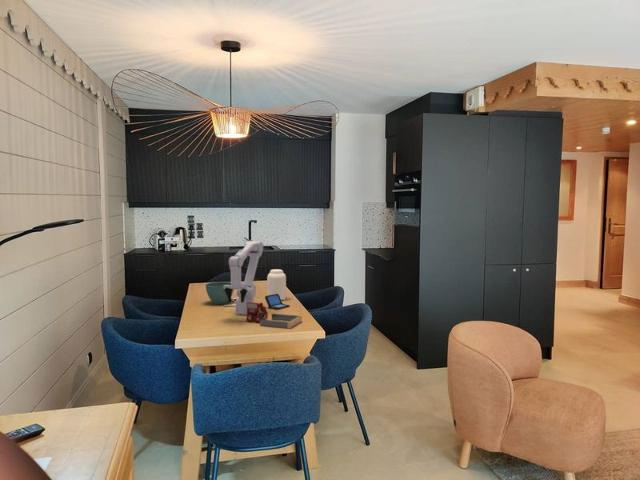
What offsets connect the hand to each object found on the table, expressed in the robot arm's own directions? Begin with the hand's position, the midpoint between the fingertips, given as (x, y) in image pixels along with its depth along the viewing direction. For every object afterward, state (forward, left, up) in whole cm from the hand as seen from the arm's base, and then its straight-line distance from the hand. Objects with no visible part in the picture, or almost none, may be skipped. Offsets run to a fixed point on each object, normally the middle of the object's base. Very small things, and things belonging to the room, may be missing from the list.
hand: (236, 301), depth 268 cm
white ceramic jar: (-2, +57, -10) cm, 58 cm away
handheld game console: (+9, +35, -10) cm, 38 cm away
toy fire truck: (+13, -1, -10) cm, 17 cm away
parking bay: (+27, -1, -10) cm, 29 cm away
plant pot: (-31, +33, -10) cm, 46 cm away
